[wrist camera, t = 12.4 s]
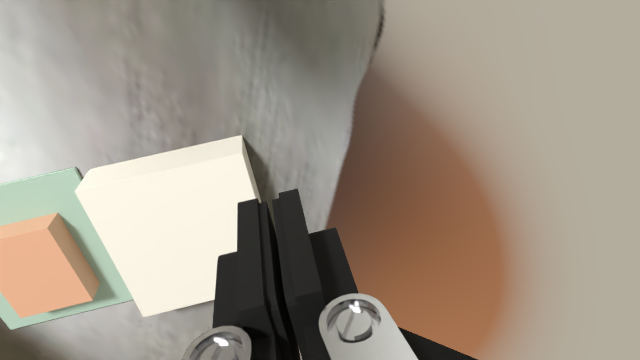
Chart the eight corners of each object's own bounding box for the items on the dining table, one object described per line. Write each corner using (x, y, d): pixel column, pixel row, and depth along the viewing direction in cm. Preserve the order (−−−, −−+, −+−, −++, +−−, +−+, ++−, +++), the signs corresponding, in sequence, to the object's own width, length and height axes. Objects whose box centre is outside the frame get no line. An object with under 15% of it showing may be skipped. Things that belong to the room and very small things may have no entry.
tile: (47, 227, 37) (57, 212, 39) (-35, 247, 36) (-19, 230, 39) (92, 300, 41) (100, 282, 43) (20, 318, 41) (31, 299, 43)
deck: (89, 169, 38) (74, 191, 34) (241, 135, 39) (242, 153, 35) (150, 289, 45) (143, 317, 42) (277, 258, 46) (280, 283, 43)
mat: (-86, 203, 37) (-89, 205, 36) (75, 167, 38) (74, 169, 37) (12, 326, 45) (10, 329, 44) (143, 294, 46) (142, 297, 45)
